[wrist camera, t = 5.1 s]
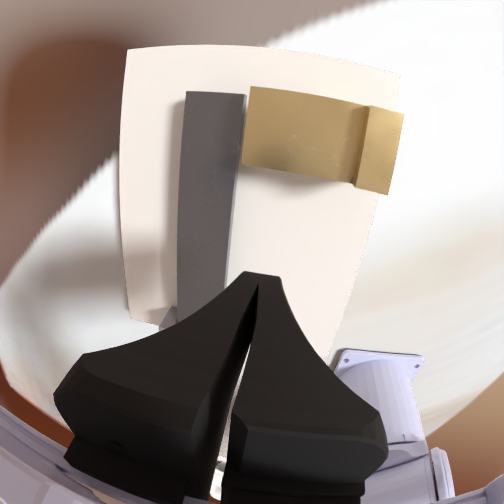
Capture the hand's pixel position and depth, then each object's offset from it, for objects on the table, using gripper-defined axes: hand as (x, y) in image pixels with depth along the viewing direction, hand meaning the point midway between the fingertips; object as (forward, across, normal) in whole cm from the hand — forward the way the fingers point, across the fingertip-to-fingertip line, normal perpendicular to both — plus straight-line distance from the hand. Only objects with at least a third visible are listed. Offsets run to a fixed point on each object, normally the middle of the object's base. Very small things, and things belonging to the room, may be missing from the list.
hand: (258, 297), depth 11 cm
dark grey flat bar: (+7, +4, +1) cm, 8 cm away
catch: (+8, -2, -6) cm, 10 cm away
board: (+9, +2, 0) cm, 10 cm away
